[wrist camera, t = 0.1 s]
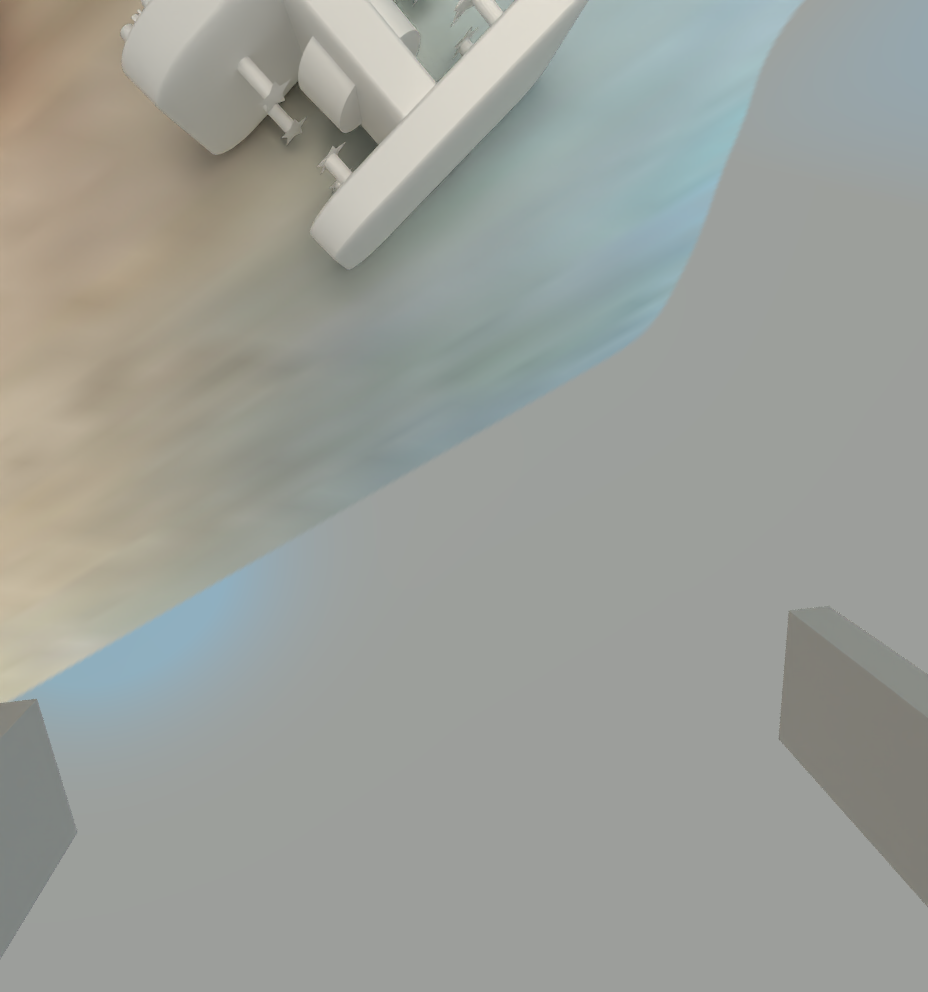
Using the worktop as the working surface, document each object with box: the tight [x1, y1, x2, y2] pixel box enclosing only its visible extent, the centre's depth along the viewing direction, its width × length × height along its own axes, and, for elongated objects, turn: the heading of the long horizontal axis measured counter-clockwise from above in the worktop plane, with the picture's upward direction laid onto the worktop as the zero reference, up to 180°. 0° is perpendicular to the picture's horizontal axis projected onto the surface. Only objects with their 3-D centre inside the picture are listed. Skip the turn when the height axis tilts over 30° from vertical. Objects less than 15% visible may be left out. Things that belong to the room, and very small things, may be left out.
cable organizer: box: [121, 0, 588, 270], centre depth 28 cm, size 15×11×12 cm
